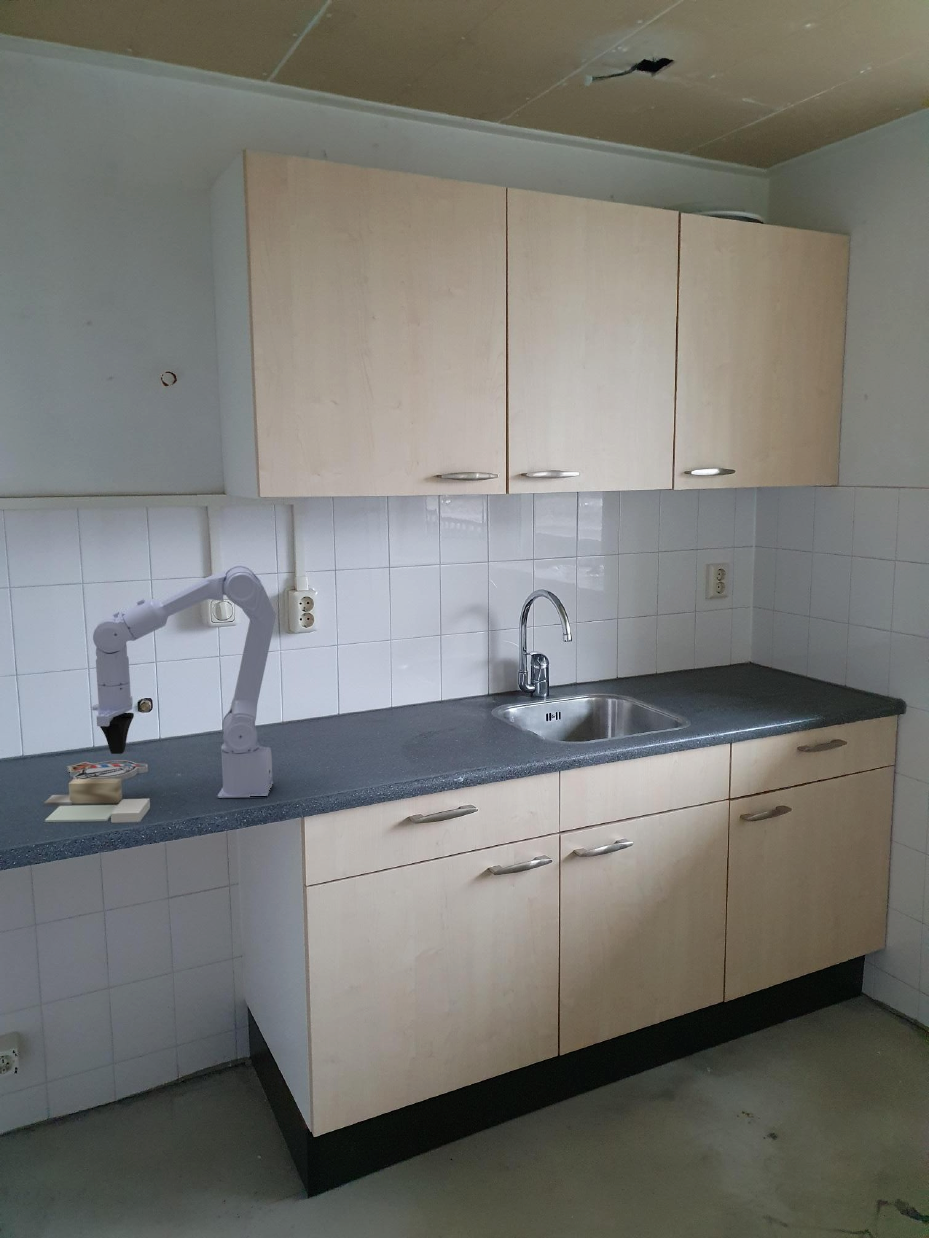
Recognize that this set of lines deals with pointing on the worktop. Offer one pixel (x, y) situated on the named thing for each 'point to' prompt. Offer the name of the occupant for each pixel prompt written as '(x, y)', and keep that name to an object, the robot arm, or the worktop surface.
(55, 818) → the pad
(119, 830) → the worktop surface
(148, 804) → the tile
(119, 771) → the emblem
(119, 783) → the wooden handled scraper
